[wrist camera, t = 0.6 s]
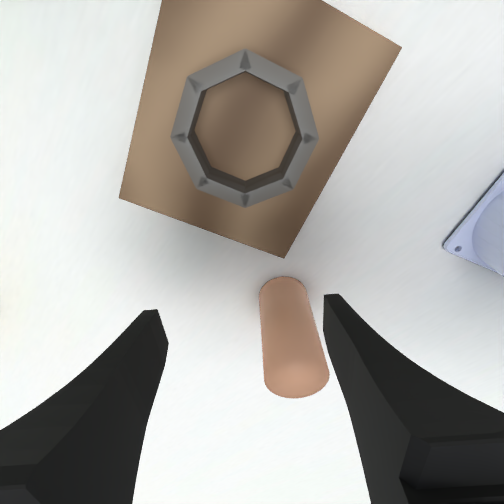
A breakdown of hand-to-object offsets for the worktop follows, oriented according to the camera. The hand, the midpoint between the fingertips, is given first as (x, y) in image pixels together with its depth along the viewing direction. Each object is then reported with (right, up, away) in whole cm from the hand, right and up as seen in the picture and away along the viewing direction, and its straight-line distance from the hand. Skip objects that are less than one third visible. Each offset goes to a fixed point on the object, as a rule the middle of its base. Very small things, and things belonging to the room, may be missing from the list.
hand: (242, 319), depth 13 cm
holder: (0, +11, +6) cm, 12 cm away
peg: (+3, -1, +12) cm, 13 cm away
